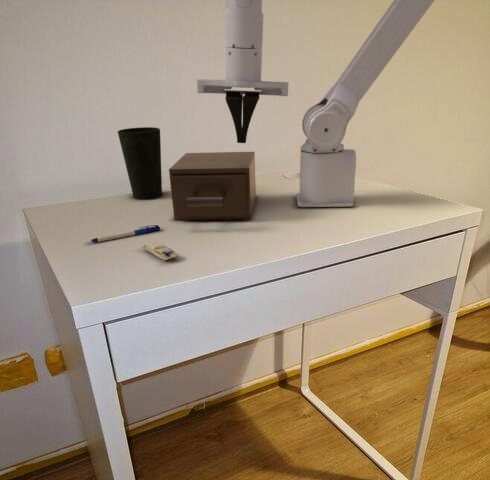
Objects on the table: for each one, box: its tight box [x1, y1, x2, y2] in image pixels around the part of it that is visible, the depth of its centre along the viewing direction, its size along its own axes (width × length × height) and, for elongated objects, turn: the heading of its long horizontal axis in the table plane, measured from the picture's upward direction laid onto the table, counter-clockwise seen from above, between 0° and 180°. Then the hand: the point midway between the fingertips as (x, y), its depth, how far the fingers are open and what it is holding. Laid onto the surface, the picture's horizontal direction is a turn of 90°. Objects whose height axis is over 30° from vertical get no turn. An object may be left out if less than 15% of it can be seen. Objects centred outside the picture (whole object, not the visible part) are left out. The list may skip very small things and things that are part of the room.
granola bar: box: [141, 240, 179, 261], centre depth 63 cm, size 7×2×1 cm, turn 37°
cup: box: [117, 126, 163, 200], centre depth 88 cm, size 8×8×12 cm
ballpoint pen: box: [91, 224, 161, 243], centre depth 70 cm, size 10×1×1 cm, turn 121°
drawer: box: [172, 173, 247, 217], centre depth 77 cm, size 18×11×6 cm, turn 176°
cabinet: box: [168, 151, 257, 221], centre depth 80 cm, size 15×13×8 cm
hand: (241, 142), depth 79 cm, fingers closed
